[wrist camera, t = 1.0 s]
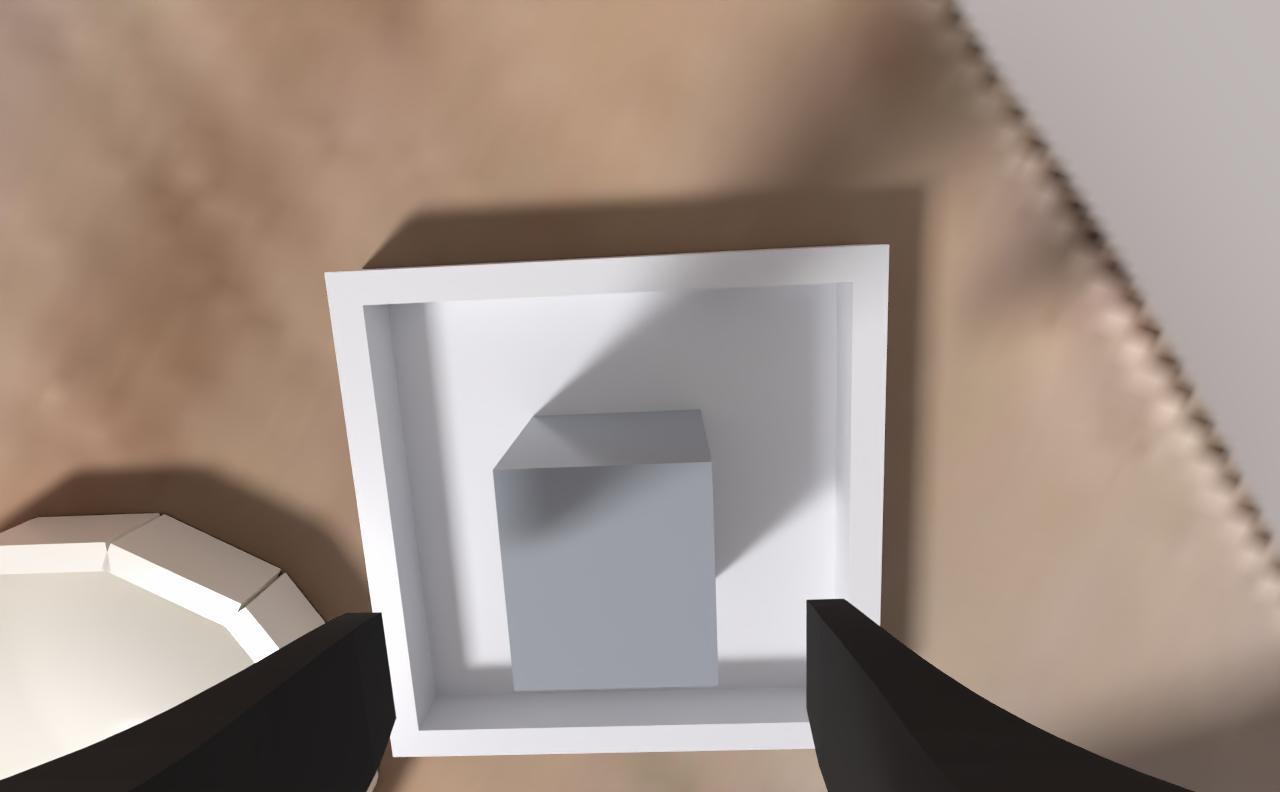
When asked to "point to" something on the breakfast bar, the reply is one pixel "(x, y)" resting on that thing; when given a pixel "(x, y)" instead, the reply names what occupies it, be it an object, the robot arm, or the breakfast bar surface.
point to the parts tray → (615, 383)
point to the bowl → (125, 626)
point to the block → (609, 551)
